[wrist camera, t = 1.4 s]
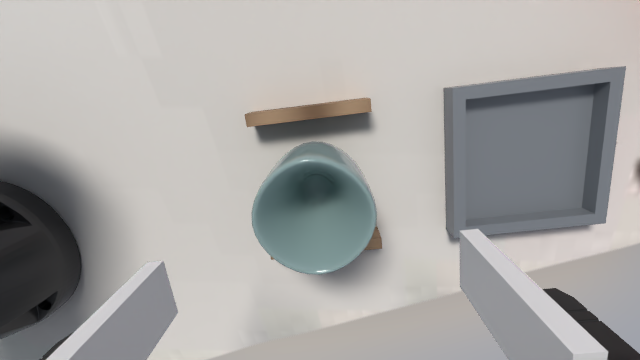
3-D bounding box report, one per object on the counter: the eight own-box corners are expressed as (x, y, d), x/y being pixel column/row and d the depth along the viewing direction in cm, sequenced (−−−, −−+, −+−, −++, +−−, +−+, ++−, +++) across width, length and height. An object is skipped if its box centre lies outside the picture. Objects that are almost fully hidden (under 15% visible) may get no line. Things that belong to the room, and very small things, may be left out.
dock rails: (275, 246, 32) (271, 259, 29) (251, 112, 28) (244, 114, 26) (377, 236, 31) (382, 248, 29) (366, 97, 27) (370, 98, 25)
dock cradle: (446, 228, 31) (454, 238, 29) (443, 88, 27) (452, 88, 25) (587, 214, 30) (605, 223, 28) (604, 67, 26) (625, 66, 25)
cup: (312, 116, 28) (304, 131, 18) (378, 172, 29) (403, 213, 20) (258, 181, 30) (226, 227, 20) (323, 231, 31) (321, 296, 21)
